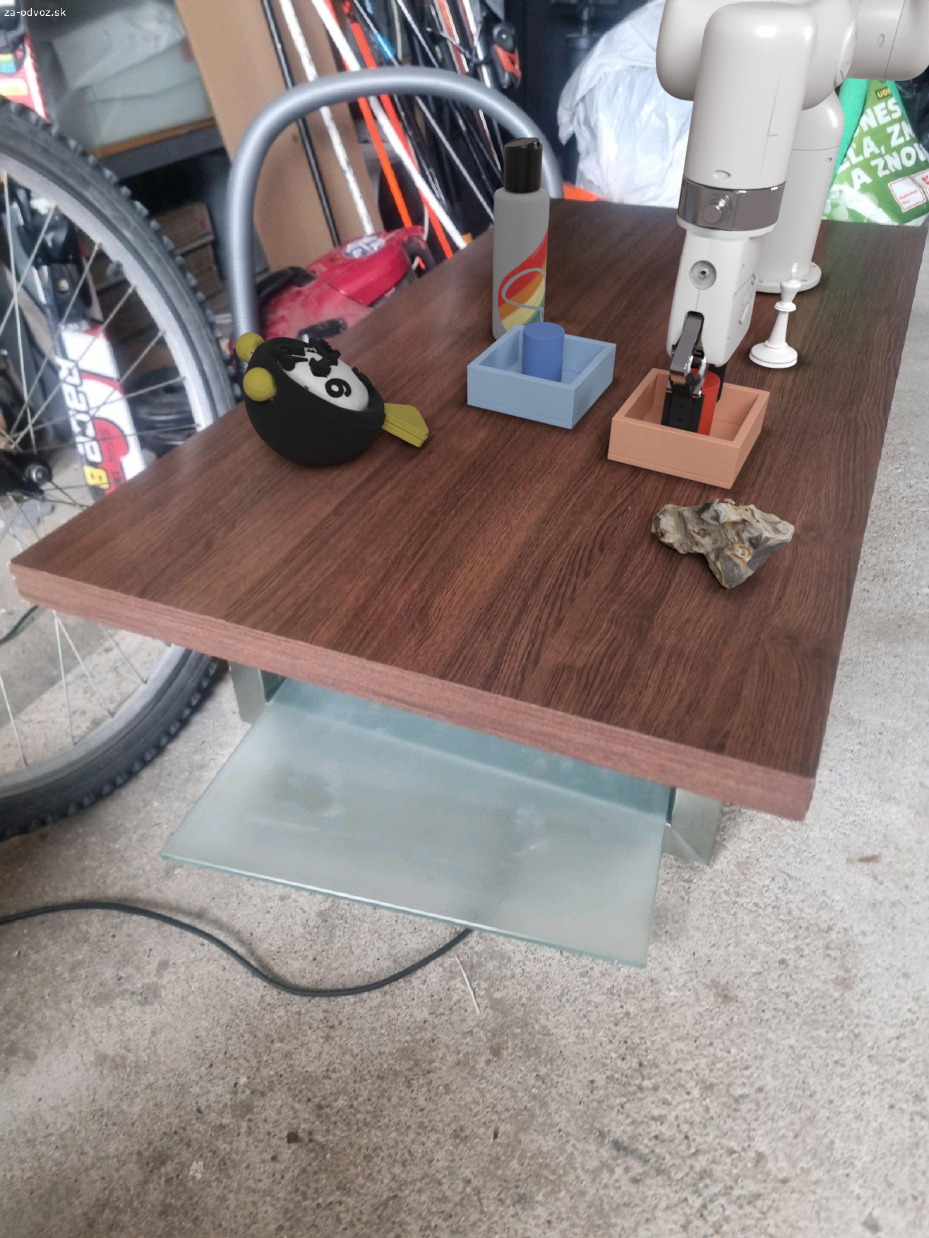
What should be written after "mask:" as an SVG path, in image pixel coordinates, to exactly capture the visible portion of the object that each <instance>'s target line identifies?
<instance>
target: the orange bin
mask: <svg viewBox="0 0 929 1238" xmlns="http://www.w3.org/2000/svg"><path fill="white" fill-rule="evenodd" d="M669 374H670V370H665V369H662V368H655V367H652V368H651V369H650V371H649V372H648V373H646V376H644V378H643V379H642V381H640V382H639V384H638V386H637V387H636V388H635V389H634V391H632V393H631V394H629V397H628V398H626V400H625V402H624V403H623V404H622V405H621V407H620V408H618V410H617V412H615V414H614V415H613V417H612V418H611V424H610V425H611V426H610V433H609V442H608V450H607V460H610V461H614V462H619V463H622V464H625V465H626V464H627V465H629V466H634V467H638V468H642V469H645V470H650V471H653V472H658V473H662V474H665V475H669V476H673V477H678V478H681V479H685V480H690V481H694V482H699V483H702V484H706V485H710V486H715V487H718V488H722V489H726V490H731V488H732V487H733V485H734V483H735V481H736V479H737V477H738V475H739V473H740V471H741V469H742V468H743V466H744V464H745V462H746V460H747V459H748V456H749V454H750V452H751V451H752V449H753V447H754V445H755V443H756V441H757V439H758V437H759V436H760V434H761V431H762V426H763V423H764V419H765V416H766V411H767V408H768V403H769V399H770V395H771V392H770V391H768V390H763V389H759V388H753V387H748V386H744V385H739V384H734V383H728V382H725V381H724V383H723V388H722V393H721V398H720V400H719V401H718V402H716V405H715V410H714V415H713V420H712V425H711V430H710V435H709V436H707V435H702V434H698V433H694V432H689V431H685V430H681V429H676V428H672V427H667V426H663V425H661V418H662V412H663V406H664V399H665V393H666V387H667V383H668V379H669Z"/></svg>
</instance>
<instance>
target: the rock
mask: <svg viewBox="0 0 929 1238" xmlns="http://www.w3.org/2000/svg"><path fill="white" fill-rule="evenodd" d="M719 500H720V499H719V498H715V499H714V501H709V502H708V501H706V502H704V503H702V504H698V505H697V504H696V505H693V506H682V505H676V504H672V503H666V504H663V505H662V506H661V508H660V509H659V510H658V512H657V513H656V514H655V515H653V517H652V526H651V530H650V532H651V533H652V534H654V535H656V537H657V538H658V540H659V541H660V542H661V543H662V544H664V545H667V546H669V547H670V548H672V549H674V550H676V551H677V552H678V553H680V554H683V555H684V554H685V555H686V554H688V553H691V554H702V555H703V556H704V557H705V559H706V560H707V563H708V566H709V568H710V570H711V572H712V573H713V575H714V576H715V578H716V580H717V581H718V582H719V583H720V585H721V586H722V587H723V588H725V589H727V590H731V589H733V588H735V587H737V586H739V585H741V584H743V583H744V582H745V581H746V580H747V578H748V577H750V576H752V575H753V574H754V572H755V571H756V570H757V569H759V568H760V567H762V566H763V565H765V563H766V562H767V560H768V558H769V557H770V555H771V553H773V552H775V551H777V550H780V549H782V548H784V547H786V546H787V545H788V544H789V543H790V542H792V539H793V535H794V533H795V525H794V524H791V523H789V522H788V521H786V520H783V519H781V518H779V517H778V516H777V515H775V514H773V513H770V512H763V511H761V510H760V509H758V508H757V507H756V505H754V504H751V503H749V504H747V505H742V504H739V505H737V506H736V505H735V504H736V502H735V501H733V500H732V499H731V498H726V497H725V498H723V501H724V502H719Z"/></svg>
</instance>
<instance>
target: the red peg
mask: <svg viewBox="0 0 929 1238" xmlns="http://www.w3.org/2000/svg"><path fill="white" fill-rule="evenodd" d="M698 370H699V369H691V370H690V373H694V376H695V381H696V378H697V374H698ZM719 386H720V378H719V377H718V376H717V375H716V374H714V373H712V372H710V371H707V374H706V378H705V382H704V385H703V389H702V393H701V394H704V395H705V398H704V403H703V409H702V414H701V419H700V424H699V430H698V434H702V435H707V436H709V435H710V430H711V425H712V420H713V415H714V410H715V405H716V400H717V395H718V390H719Z"/></svg>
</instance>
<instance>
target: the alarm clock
mask: <svg viewBox="0 0 929 1238" xmlns="http://www.w3.org/2000/svg"><path fill="white" fill-rule="evenodd" d="M235 353H236V355H237V357H238V358H239V359H240V360H241V361H242V362H244V363H245V364H247V366H246V369H245V372H244V377H243V379H242V386H243V389H242V390H243V391H242V393H243V401H244V407H245V411H246V413H247V416H248V419H249V421H250V423H251V425H252V428H253V429H254V431H255V432H256V434H257V435H258V436H259V438H260V439H261V440H262V441H263V442H264V444H266V445H267V446H268V447H269V448H271V449H272V451H274V452H275V453H277V454H278V455H279V456H281V457H283V458H285V459H287V460H290V461H292V462H293V463H298V464H301V465H306V466H311V467H327V466H328V467H329V466H334V465H335V466H336V465H338V464H339V465H340V464H342V463H345V462H347V461H350V460H352V459H354V458H356V457H357V456H358V455H360V454H362V453H363V452H364V451H365V450H367V449H368V448H369V446H370V445H371V444H372V443H373V442H374V441H375V439H376V438H377V437H378V435H379V433H381V430H382V429H383V430H385V431H386V432H388V433H390V434H391V435H393V436H396V437H398V438H400V439H402V440H403V441H405V442H407V443H409V444H411V445H413V446H415V447H418V448H421V447H422V445H423V444H424V442H426V441H427V439H428V437H429V432H430V431H429V428H428V425H427V424H426V422H425V419H424V418H423V416H422V414H421V412H420V411H419V410H418V409H417V408H416V407H415V406H413V405H410V404H401V403H390V402H385V401H384V399H383V397H382V395H381V393H380V392H379V391H378V389H377V388H376V386H374V385H373V382H372V381H371V379H370V378H369V377H368V376H367V375H366V374H365V373H364V372H363V371H360V372H359V368H358V367H356V366H353V367H351V366H349V365H348V364H347V363H345V362H344V361H343V360H341V359H340V357H341V355H342V353H341V351H340V350H339V349H337V348H335V349H334V348H332V345H330V343H329V342H328V341H326V340H325V339H323V338H319V339H318V340H317V339H316V338H313V337H311V336H310V337H309V339H308V342H307V341H304V340H301V339H297V338H294V337H289V336H275V337H272V338H270V339H267V340H266V341H265V340H264V338H263V337H262V336H261V335H259V334H257V333H256V332H245V333H243V334H241V335H240V336H239V337H238V338H237V340H236V342H235Z"/></svg>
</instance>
